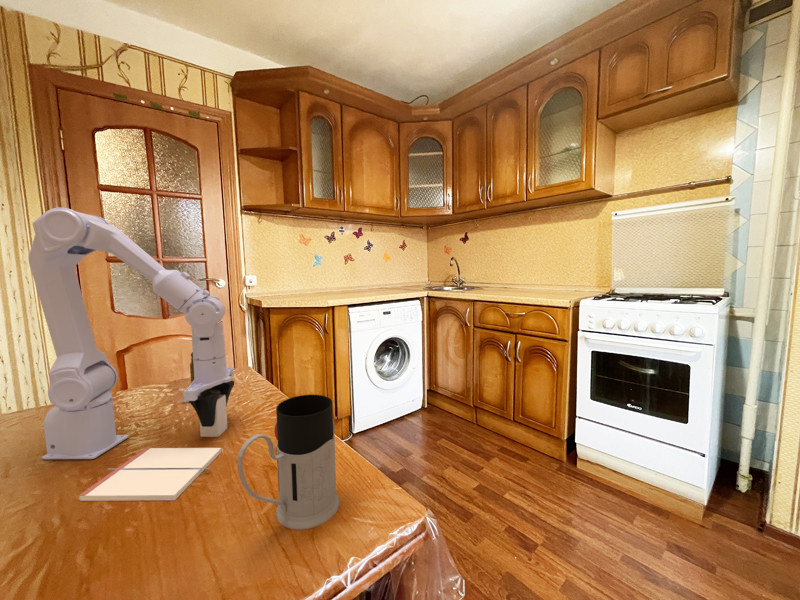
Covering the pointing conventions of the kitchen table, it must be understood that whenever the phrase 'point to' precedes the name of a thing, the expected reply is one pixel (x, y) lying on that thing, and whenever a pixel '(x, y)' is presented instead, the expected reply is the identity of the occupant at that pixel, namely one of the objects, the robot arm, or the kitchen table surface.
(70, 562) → the kitchen table surface
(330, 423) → the glass holder
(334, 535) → the kitchen table surface
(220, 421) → the white bottle
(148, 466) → the notepad
